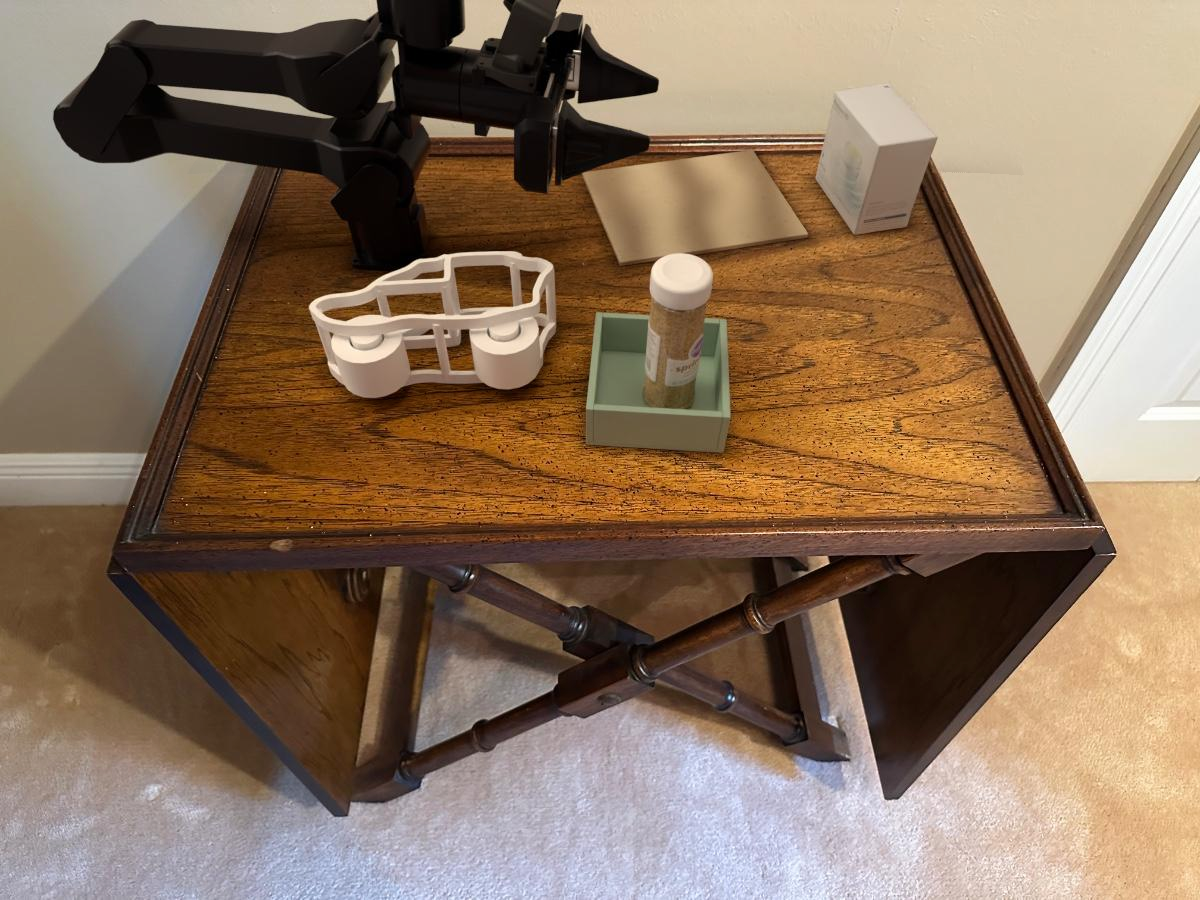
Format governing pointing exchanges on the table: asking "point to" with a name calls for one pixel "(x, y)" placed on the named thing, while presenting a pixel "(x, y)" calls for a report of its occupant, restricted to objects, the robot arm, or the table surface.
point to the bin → (621, 379)
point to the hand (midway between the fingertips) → (654, 113)
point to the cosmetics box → (874, 157)
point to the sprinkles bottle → (675, 329)
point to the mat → (690, 207)
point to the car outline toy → (439, 328)
